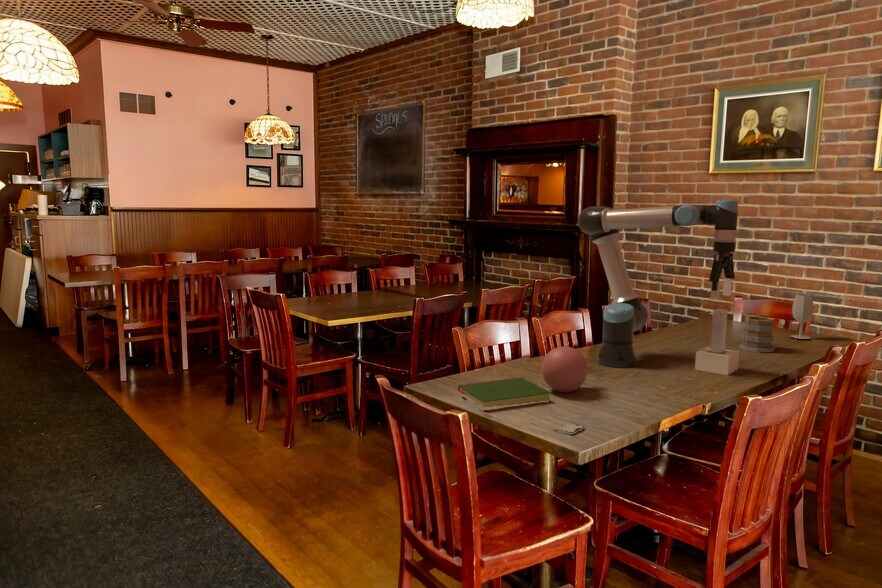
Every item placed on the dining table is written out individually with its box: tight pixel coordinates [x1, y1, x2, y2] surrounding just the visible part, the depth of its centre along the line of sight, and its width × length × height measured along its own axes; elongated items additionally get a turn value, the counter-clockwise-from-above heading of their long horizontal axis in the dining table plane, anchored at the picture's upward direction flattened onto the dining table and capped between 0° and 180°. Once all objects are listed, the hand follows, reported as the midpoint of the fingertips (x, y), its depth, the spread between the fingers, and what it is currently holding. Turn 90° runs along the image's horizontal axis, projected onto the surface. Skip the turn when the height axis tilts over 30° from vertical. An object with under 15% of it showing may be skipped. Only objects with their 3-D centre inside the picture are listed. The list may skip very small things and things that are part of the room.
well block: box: [694, 346, 740, 376], centre depth 239 cm, size 12×12×7 cm
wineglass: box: [790, 293, 815, 340], centre depth 293 cm, size 9×9×21 cm
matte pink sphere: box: [541, 346, 591, 393], centre depth 212 cm, size 15×20×15 cm
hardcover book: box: [457, 377, 552, 407], centre depth 204 cm, size 25×19×4 cm
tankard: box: [739, 311, 775, 353], centre depth 275 cm, size 20×13×15 cm, turn 179°
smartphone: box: [558, 422, 585, 433], centre depth 179 cm, size 7×1×15 cm
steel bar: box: [710, 308, 729, 354], centre depth 238 cm, size 4×4×20 cm
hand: (720, 297), depth 236 cm, fingers open, 13 cm apart
